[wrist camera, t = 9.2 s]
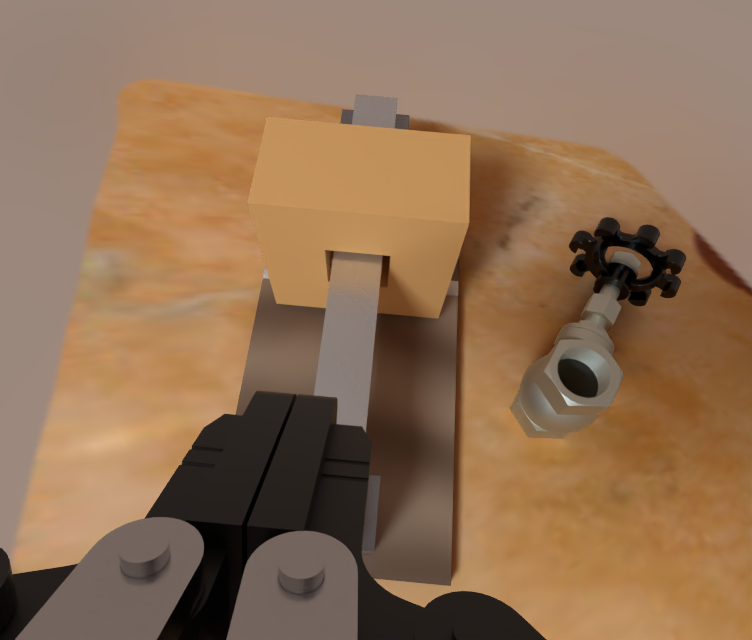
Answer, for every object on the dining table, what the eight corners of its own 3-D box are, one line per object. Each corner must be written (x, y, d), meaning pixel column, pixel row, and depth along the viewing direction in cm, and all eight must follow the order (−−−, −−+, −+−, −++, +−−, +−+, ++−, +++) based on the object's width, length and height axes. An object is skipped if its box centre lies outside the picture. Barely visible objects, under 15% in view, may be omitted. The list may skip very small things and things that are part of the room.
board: (447, 585, 27) (451, 585, 26) (211, 562, 27) (205, 562, 26) (458, 178, 38) (461, 167, 37) (290, 162, 38) (288, 152, 38)
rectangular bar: (370, 555, 27) (375, 550, 21) (290, 547, 27) (272, 540, 21) (402, 174, 37) (411, 98, 31) (344, 169, 37) (342, 91, 31)
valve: (580, 472, 30) (652, 309, 35) (635, 446, 24) (713, 253, 29) (474, 410, 31) (557, 261, 36) (503, 371, 25) (597, 198, 30)
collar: (438, 318, 32) (469, 223, 23) (276, 303, 32) (247, 203, 23) (441, 247, 34) (470, 135, 25) (289, 233, 34) (267, 116, 26)
